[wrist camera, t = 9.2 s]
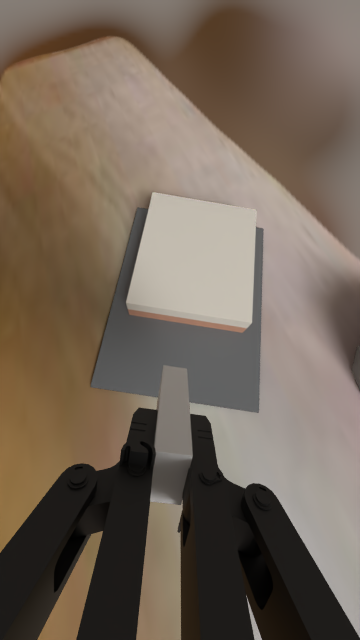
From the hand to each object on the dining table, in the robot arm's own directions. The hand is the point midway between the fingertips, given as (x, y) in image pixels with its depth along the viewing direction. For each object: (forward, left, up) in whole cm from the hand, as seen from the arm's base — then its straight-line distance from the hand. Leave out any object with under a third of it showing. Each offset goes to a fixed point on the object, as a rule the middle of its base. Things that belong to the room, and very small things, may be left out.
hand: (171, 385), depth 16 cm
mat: (-6, +9, -9) cm, 14 cm away
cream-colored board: (-4, +6, -7) cm, 10 cm away
